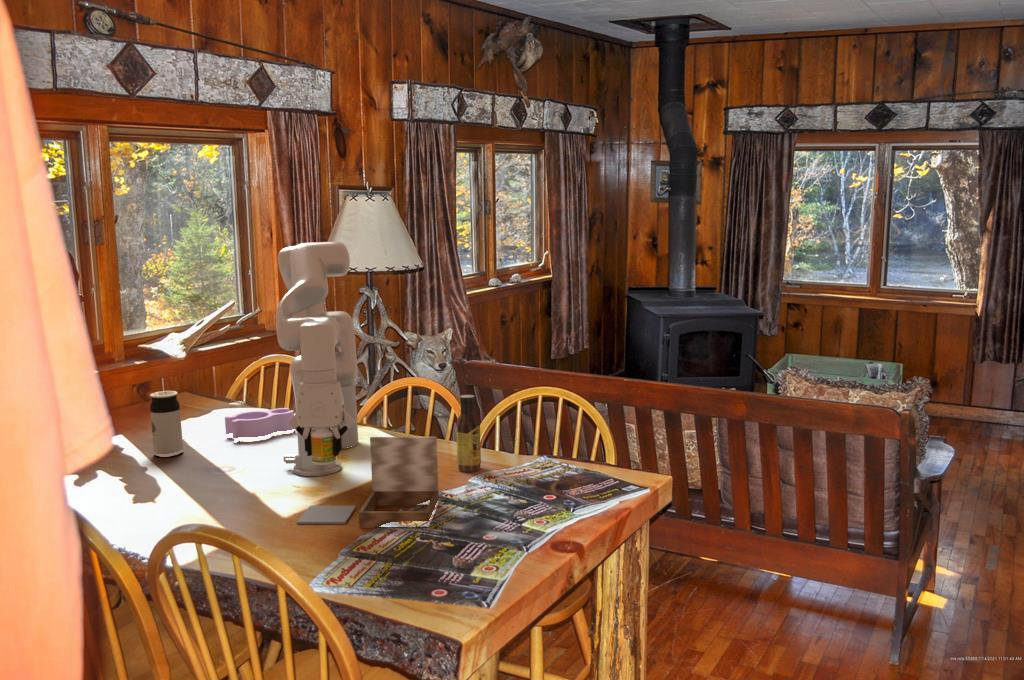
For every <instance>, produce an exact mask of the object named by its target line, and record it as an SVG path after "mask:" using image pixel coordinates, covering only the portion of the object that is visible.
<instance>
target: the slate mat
mask: <svg viewBox="0 0 1024 680" xmlns="http://www.w3.org/2000/svg"><path fill="white" fill-rule="evenodd" d="M356 508H357V505H310V506H309V507H308V508H307V509H306V510H305V511H304V513H303V514H302V515H301V517H300V518H299V519H298V520H297V521H296V524H297V525H346V524H347V523H348V521H349V519H350V518H351V516H352V515H353V514H354V512H355V511H356V510H357V509H356Z"/></svg>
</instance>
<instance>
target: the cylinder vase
mask: <svg viewBox="0 0 1024 680" xmlns="http://www.w3.org/2000/svg"><path fill="white" fill-rule="evenodd" d="M356 386H357V385H356V383H355V384H354V385H352V386H349V387H341V389H342V394H343V400H344V407H345V410H346V412H347V413H348V414H349V415H350V416H351V417H352V418H353V419H354V420H355V423H354V424H353V425H352V426H351V427H350V428H349V429H348V430H347V431H346V432H345V433H344V434H343V435H342V436H341V438H342V448H347V447H351V446H353V447H355V446H356V445H358V443H359V431H358V430H359V429H358V410H357V408H358V406H357V392H356V391H357V389H356V388H357V387H356ZM346 423H347V422H346V420H344V421H343V422H342V423H341V425H340V426H341V428H342V427H343V426H344V425H345V424H346ZM354 445H355V446H354ZM351 448H352V447H351ZM347 449H348V448H347Z"/></svg>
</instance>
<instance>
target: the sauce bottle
mask: <svg viewBox="0 0 1024 680" xmlns="http://www.w3.org/2000/svg"><path fill="white" fill-rule="evenodd" d="M459 402H460V414H459V416H458V417H457V420H456V454H457V455H456V457H457V458H456V461H457V469H458V471H460V472H465V473H466V472H467V473H471V472H477V471H479V470H480V469H481V464H482V460H481V459H482V458H481V457H482V455H481V449H482V447H481V424H480V422H479V419H478V416H477V414H476V408H475V406H476V404H475V402H476V395H473V394H461V395H459Z"/></svg>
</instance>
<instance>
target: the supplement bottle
mask: <svg viewBox="0 0 1024 680" xmlns="http://www.w3.org/2000/svg"><path fill="white" fill-rule="evenodd" d="M334 436H335V435H334V433H333V430H332V429H331V428H330V427H328V428H314V430H312V432H311V451H312V463H313V464H316V465H328V464H332V463H334V462H335V461H337V456H335V455H334V451H333V439H334Z"/></svg>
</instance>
